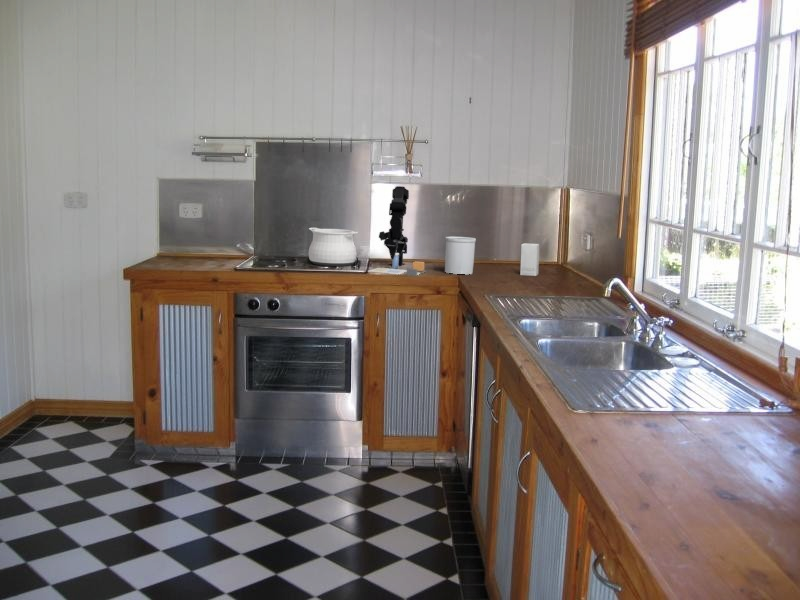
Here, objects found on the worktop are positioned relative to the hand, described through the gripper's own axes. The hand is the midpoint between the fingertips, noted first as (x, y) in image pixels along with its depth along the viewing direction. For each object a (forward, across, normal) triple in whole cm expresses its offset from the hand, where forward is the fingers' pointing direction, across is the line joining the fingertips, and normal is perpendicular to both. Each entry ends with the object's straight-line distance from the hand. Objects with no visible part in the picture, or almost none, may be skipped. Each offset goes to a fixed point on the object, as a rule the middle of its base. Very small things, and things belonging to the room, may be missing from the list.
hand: (395, 258), depth 439 cm
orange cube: (+4, +5, +14) cm, 16 cm away
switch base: (+6, +8, +14) cm, 17 cm away
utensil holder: (+6, -7, +31) cm, 32 cm away
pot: (+6, 0, -34) cm, 35 cm away
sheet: (+6, +9, 0) cm, 11 cm away
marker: (+6, 0, 0) cm, 6 cm away
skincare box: (+6, -22, +63) cm, 67 cm away
